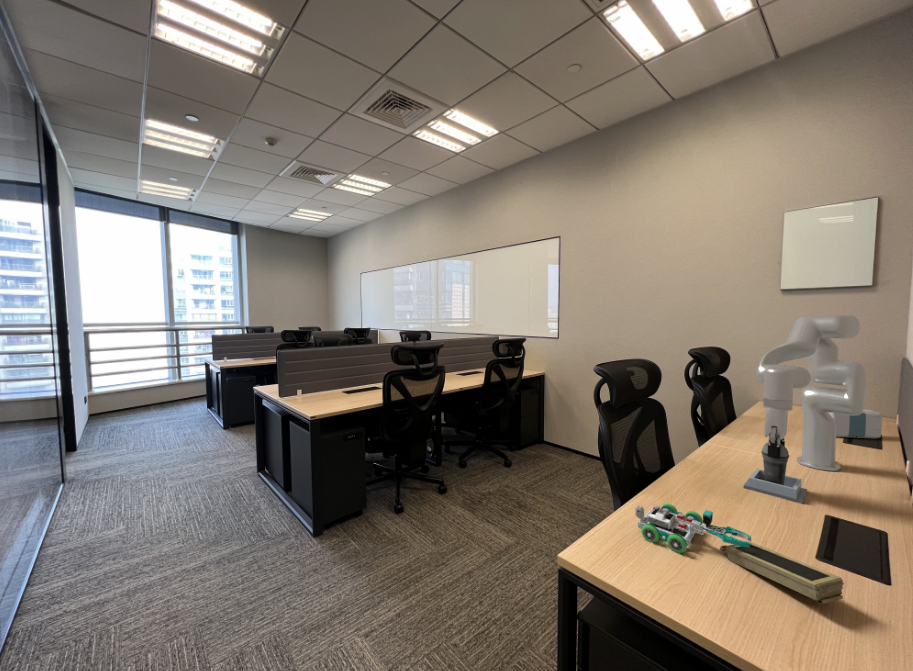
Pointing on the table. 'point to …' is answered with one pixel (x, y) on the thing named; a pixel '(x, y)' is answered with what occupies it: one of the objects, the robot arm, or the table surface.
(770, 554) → the box
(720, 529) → the robot kit
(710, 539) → the table surface
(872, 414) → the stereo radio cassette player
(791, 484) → the blue-grey tray
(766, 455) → the beverage cup
